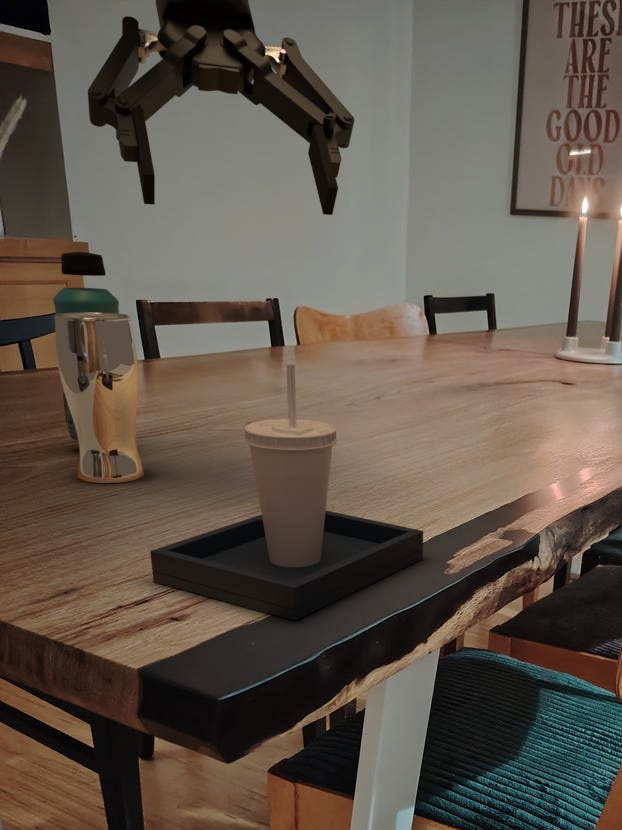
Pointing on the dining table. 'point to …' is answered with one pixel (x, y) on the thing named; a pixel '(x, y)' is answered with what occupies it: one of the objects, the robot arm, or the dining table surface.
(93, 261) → the beverage bottle
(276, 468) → the smoothie
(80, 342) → the beer glass
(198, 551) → the tray
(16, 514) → the dining table surface
